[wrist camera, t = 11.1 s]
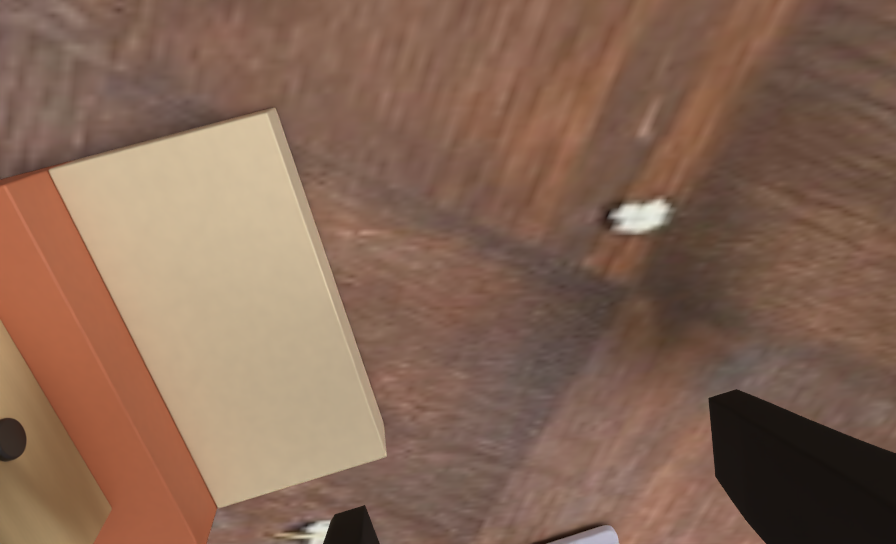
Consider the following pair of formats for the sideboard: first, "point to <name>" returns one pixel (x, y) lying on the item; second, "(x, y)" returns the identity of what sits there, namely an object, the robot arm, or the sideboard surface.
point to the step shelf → (185, 325)
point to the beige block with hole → (40, 465)
